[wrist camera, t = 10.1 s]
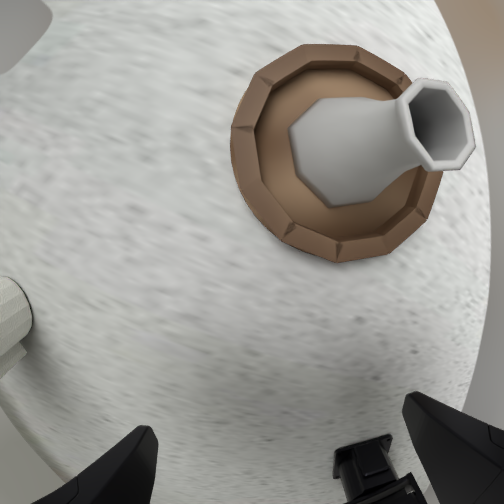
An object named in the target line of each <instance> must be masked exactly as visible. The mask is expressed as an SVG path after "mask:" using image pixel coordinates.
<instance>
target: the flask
mask: <svg viewBox="0 0 504 504" xmlns="http://www.w3.org/2000/svg"><path fill="white" fill-rule="evenodd" d="M287 130H288V135H289V140H290V146H291V151H292V157H293V163H294V169H295V175H296V176H297V177H298V178H300V179H301V180H302V181H303V182H304V183H305V184H306V185H307V186H308V187H309V188H310V190H311V191H312V192H313V193H314V194H315V195H316V196H317V197H318V198H319V199H320V200H321V201H322V202H323V203H324V204H325V205H326V206H327V207H328V208H333V207H340V206H346V205H353V204H360V203H368V202H371V201H372V200H374V199H375V198H376V197H377V196H378V195H379V194H380V193H381V192H382V191H383V190H384V189H385V188H386V187H387V186H388V185H389V184H391V183H392V182H393V181H394V180H395V179H397V178H398V177H399V176H400V175H401V174H403V173H404V172H405V171H407V170H410V169H412V168H415V167H417V166H420V165H422V167H423V168H424V169H425V170H426V171H428V172H433V171H449V170H460V169H461V168H462V167H463V165H464V164H465V162H466V161H467V159H468V158H469V157H470V155H471V154H472V152H473V151H474V149H475V148H476V145H475V139H474V133H473V128H472V122H471V118H470V113H469V111H468V109H467V108H466V106H465V105H464V103H463V102H462V100H461V99H460V97H459V96H458V95H457V93H456V92H455V91H454V89H453V88H452V87H451V85H450V84H449V83H448V82H446V81H440V80H433V79H426V78H418V79H416V80H415V81H414V82H413V83H412V84H411V85H410V86H409V87H408V88H407V89H406V90H405V91H404V92H403V93H402V94H401V95H400V96H399V97H398V98H397V99H394V100H387V101H379V100H374V99H370V98H365V97H338V98H319V99H317V100H316V101H315V102H314V103H313V104H312V105H311V106H310V107H309V108H308V109H307V110H306V111H305V112H304V113H302V114H301V115H300V116H299V117H298V118H297V119H296V120H295V121H294V122H293V123H292V124H291V125H290V126H289V127H288V128H287Z"/></svg>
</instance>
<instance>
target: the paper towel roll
mask: <svg viewBox="0 0 504 504" xmlns="http://www.w3.org/2000/svg"><path fill="white" fill-rule="evenodd" d="M31 326H32V314H31V310H30V306H29V303H28V301H27V299H26V297H25V295H24V293H23V291H22V290H21V289H20V287H19V286H18V285H17V283H15V282H14V281H13V280H11V279H10V278H8V277H0V379H1V378H2V377H3V376H4V375H5V374H6V373H7V372H8V371H9V370H10V369H11V368H12V367H13V366H14V365H15V364H16V363H17V362H18V361H19V360H21V359H22V358H23V357H24V356H25V355H26V354H27V353H26V351H25V349H24V347H23V346H22V345H21V344H20V342H19V341H20V340H21V339H22V338H23V337H25V336H26V335H27V334H28V332H29V330H30V328H31Z"/></svg>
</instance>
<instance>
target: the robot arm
mask: <svg viewBox="0 0 504 504" xmlns="http://www.w3.org/2000/svg"><path fill="white" fill-rule="evenodd" d="M402 414H403V417H404V420H405V423H406V426H407V429H408V431H409V434H410V437H411V440H412V443H413V446H414V448H415V450H416V453H417V455H418V457H419V459H420V461H421V463H422V465H423V467H424V469H425V472H426V474H427V476H428V478H429V480H430V482H431V485H432V487H433V489H434V491H435V493H436V496H437V498H438V500H439V503H440V504H504V430H501V429H499V428H496V427H494V426H492V425H488V424H487V423H484V422H482V421H480V420H477V419H475V418H473V417H471V416H469V415H467V414H465V413H462V412H460V411H458V410H456V409H454V408H452V407H450V406H447V405H445V404H443V403H441V402H439V401H437V400H435V399H433V398H431V397H429V396H427V395H425V394H423V393H421V392H418V391H414V392H411V393H408V394H407V395H406V397H405V401H404V405H403V409H402ZM392 439H393V438H392V436H391V435H386V436H383V437H380V438H377V439H374V440H370V441H367V442H363V443H360V444H356V445H353V446H349V447H345V448H341V449H338V450H336V451H335V455H334V466H333V479H339V478H341V481H342V484H343V488H344V491H345V495H346V498H347V503H344V504H427V502H426V500H425V498H424V496H423V494H422V492H421V490H420V488H419V486H418V484H417V482H416V480H415V478H414V476H413V475H412V473H411V472H410V473H408V474H406V476H404V477H402V478H400V479H399V478H398V475H397V473H396V471H395V469H394V467H393V464H392V462H391V460H390V458H389V456H388V452H389V449H390V445H391V442H392ZM157 454H158V440H157V438H156V436H155V434H154V432H153V430H152V428H151V427H150V426H146V425H139V426H137V427H136V428H135V429H134V430H133V431H132V432H130V433H129V434H128V435H127V436H126V437H124V438H123V439H122V440H121V441H120V442H118V443H117V444H116V445H115V446H113V447H112V448H111V449H110V450H109V451H107V452H106V453H105V454H104V455H102V456H101V457H100V458H99V459H97V460H96V461H95V462H94V463H92V464H91V465H90V466H88V467H87V468H86V469H85V470H83V471H82V472H81V473H79V474H78V475H77V476H75V477H74V478H73V479H71V480H70V481H69V482H67V483H66V484H64V485H63V486H62V487H60V488H58V489H57V490H55V491H54V492H52V493H50V494H48V495H47V496H45V497H43V498H41V499H39V500H37V501H35V502H33V503H32V504H150V499H151V495H152V490H153V486H154V481H155V474H156V464H157ZM411 491H413V492H412V493H411ZM409 492H410V493H409ZM407 493H408V494H407Z"/></svg>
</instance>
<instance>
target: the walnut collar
mask: <svg viewBox="0 0 504 504" xmlns="http://www.w3.org/2000/svg"><path fill="white" fill-rule="evenodd" d="M404 74H405V73H404V72H402V71H401V70H399V69H398V68H396V67H394V66H393V65H391V64H390V63H388V62H386V61H384V60H383V59H381V58H379V57H377V56H376V55H374V54H372V53H370V52H368V51H367V50H365V49H363V48H361V47H359V46H358V47H357V46H354V45H334V44H303V45H300V46H299V47H297V48H295V49H293V50H292V51H290V52H288V53H286V54H285V55H283V56H281V57H280V58H278V59H276V60H275V61H273V62H271V63H270V64H268V65H267V66H265V67H264V68H262V69H260V70H259V71H257V72H256V73H255V74H254V76H253V78H252V80H251V82H250V85H249V87H248V89H247V90H246V92H245V93H244V95H243V97H242V99H241V101H240V103H239V105H238V107H237V110H236V113H235V116H234V119H233V123H232V125H231V140H230V151H231V162H232V166H233V171H234V175H235V178H236V181H237V184H238V187H239V189H240V191H241V193H242V195H243V197H244V199H245V201H246V203H247V205H248V206H249V207H250V209H251V210H252V212H253V213H254V215H255V216H256V217H257V218H258V219H259V220H260V222H261V223H262V224H263V225H264V226H265V227H266V228H267V229H268V230H269V231H271V232H272V233H273V234H274V235H275V236H277V237H278V238H279V240H281V241H282V242H284V243H287V244H289V245H290V246H293V247H295V248H297V249H299V250H301V251H303V252H307V253H310V254H313V255H316V256H320V257H322V258H325V259H327V260H329V261H332V262H334V263H335V262H336V263H340V262H346V261H352V260H358V259H364V258H369V257H375V256H381V255H386V254H388V253H389V254H390V253H391V252H392V251H393V250H394V249H395V248H397V247H398V246H399V245H400V244H401V243H402V242H403V241H405V240H406V239H407V238H408V237H409V236H410V235H411V234H412V233H414V232H415V231H416V230H417V229H418V228H419V227H420V226H421V225H422V224H423V223H425V222H426V221H427V220H426V219H428V216H429V214H430V211H431V208H432V205H433V203H434V200H435V197H436V194H437V191H438V188H439V185H440V181H441V178H442V175H443V171H433V172H428V171H426V170H425V169H424V168H423V167H422V165H420V166H417V167H415V168H412V169H410V170H407V171H405V172H404V173H403V174H401V175H400V176H399V177H398V178H397V179H395V180H394V181H393V182H392V183H391V184H389V185H388V186H387V187H386V188H385V189H384V190H383V191H382V192H381V193H380V194H379V195H378V196H377V197H376V198H375V199H374V200H372V201H371V202H368V203H360V204H353V205H346V206H340V207H333V208H328V207H327V206H326V205H325V204H324V203H323V202H322V201H321V200H320V199H319V198H318V197H317V196H316V195H315V194H314V193H313V192H312V191H311V190H310V188H309V187H308V186H307V185H306V184H305V183H304V182H303V181H302V180H301V179H300V178H298V177H297V176H296V175H295V169H294V163H293V157H292V151H291V146H290V140H289V135H288V130H287V128H288V127H289V126H290V125H291V124H292V123H293V122H294V121H295V120H296V119H297V118H298V117H299V116H300V115H301V114H302V113H304V112H305V111H306V110H307V109H308V108H309V107H310V106H311V105H312V104H313V103H314V102H315V101H316V100H317V99H319V98H338V97H365V98H370V99H374V100H379V101H387V100H394V99H397V98H398V97H399V96H400V95H401V94H402V93H403V92H404V91H405V90H406V89H407V88H408V87H409V86H410V85H411V84H412V82H411V80H410V79H409V78H408V76H407V75H406V74H405V75H404Z"/></svg>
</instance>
